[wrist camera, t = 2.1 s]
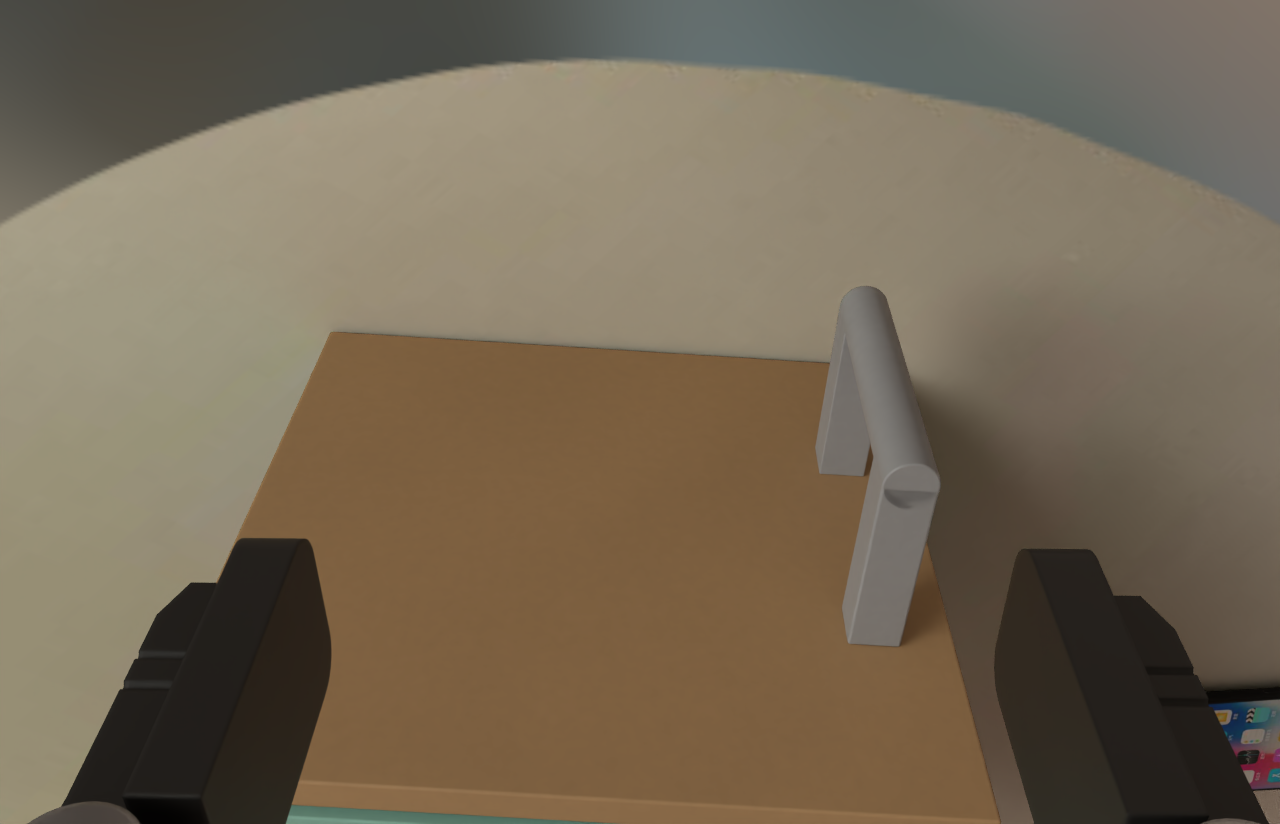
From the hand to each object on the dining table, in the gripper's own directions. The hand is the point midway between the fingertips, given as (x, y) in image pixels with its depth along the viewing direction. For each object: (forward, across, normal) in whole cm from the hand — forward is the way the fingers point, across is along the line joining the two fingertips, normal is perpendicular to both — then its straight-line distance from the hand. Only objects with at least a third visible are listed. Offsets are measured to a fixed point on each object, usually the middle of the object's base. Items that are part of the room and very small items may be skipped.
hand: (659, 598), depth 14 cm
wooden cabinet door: (+32, +2, +13) cm, 34 cm away
